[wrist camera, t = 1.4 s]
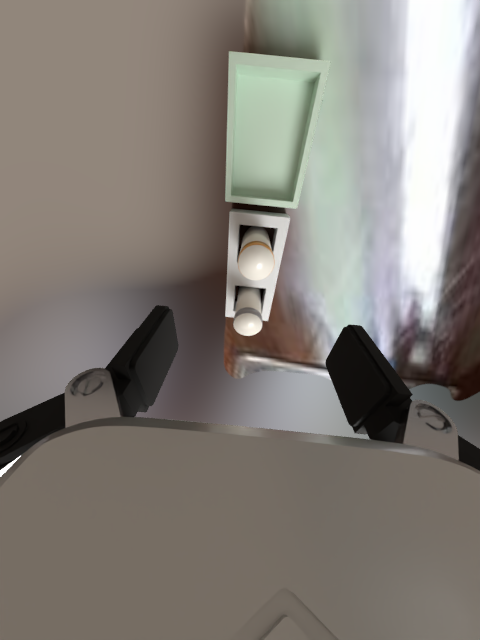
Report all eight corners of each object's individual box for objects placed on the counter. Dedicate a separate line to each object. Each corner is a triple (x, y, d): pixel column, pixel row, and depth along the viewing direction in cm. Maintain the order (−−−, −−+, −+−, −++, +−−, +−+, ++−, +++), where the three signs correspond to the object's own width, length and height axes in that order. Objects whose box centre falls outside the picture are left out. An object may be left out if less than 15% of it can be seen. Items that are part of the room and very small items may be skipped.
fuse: (239, 279, 29) (234, 311, 22) (262, 281, 29) (264, 314, 22) (237, 299, 32) (232, 334, 25) (259, 301, 32) (260, 337, 25)
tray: (232, 66, 17) (228, 51, 15) (322, 74, 17) (331, 61, 15) (227, 199, 23) (225, 201, 21) (293, 206, 23) (297, 208, 21)
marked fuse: (243, 223, 25) (239, 242, 17) (271, 226, 25) (278, 246, 17) (241, 252, 27) (236, 278, 20) (266, 254, 27) (271, 282, 20)
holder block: (232, 208, 24) (229, 211, 21) (286, 213, 24) (290, 217, 21) (227, 306, 33) (225, 316, 30) (266, 310, 33) (267, 320, 30)
